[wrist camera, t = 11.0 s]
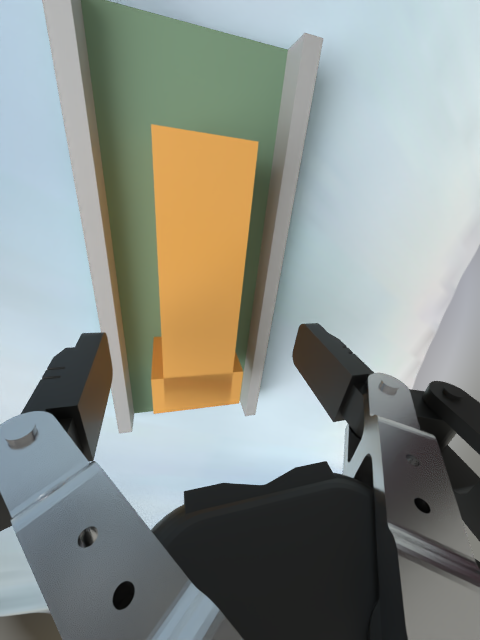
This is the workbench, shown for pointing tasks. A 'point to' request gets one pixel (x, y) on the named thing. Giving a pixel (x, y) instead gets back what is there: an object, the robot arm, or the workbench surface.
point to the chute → (199, 264)
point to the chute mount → (137, 163)
